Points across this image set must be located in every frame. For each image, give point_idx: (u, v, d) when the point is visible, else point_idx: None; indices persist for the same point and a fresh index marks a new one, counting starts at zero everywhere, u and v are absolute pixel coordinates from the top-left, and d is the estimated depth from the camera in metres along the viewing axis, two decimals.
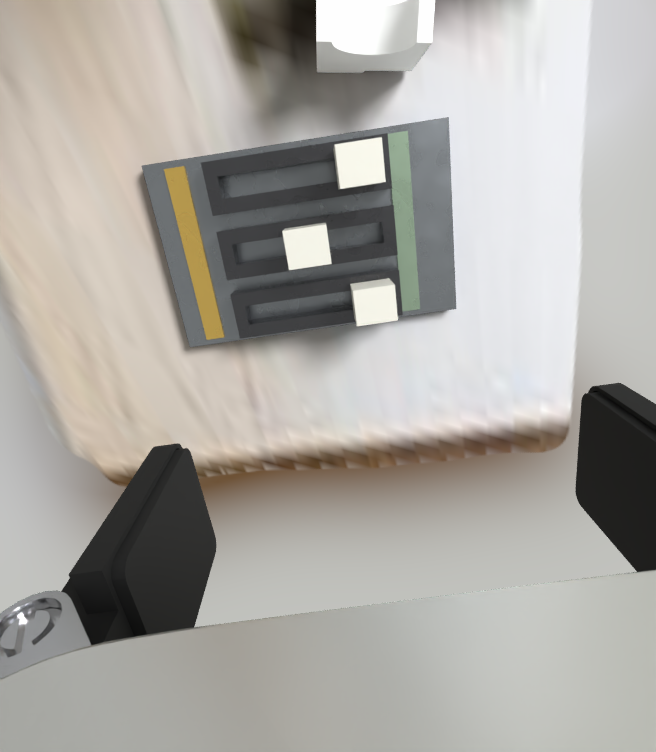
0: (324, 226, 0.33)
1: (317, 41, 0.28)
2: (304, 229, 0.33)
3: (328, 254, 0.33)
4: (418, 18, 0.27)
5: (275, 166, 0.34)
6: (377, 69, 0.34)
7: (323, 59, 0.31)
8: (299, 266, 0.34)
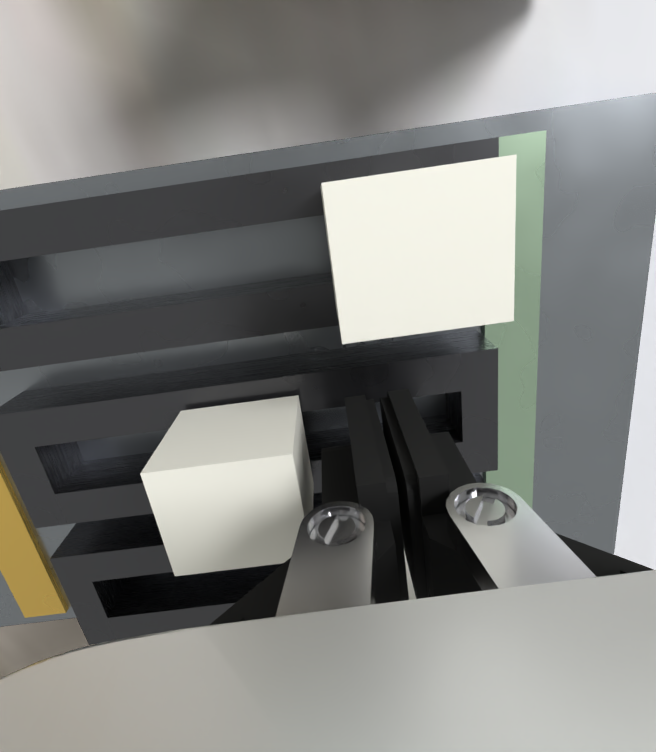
0: (286, 460, 0.09)
1: None
2: (217, 468, 0.09)
3: None
4: None
5: (138, 238, 0.11)
6: None
7: None
8: (208, 566, 0.10)
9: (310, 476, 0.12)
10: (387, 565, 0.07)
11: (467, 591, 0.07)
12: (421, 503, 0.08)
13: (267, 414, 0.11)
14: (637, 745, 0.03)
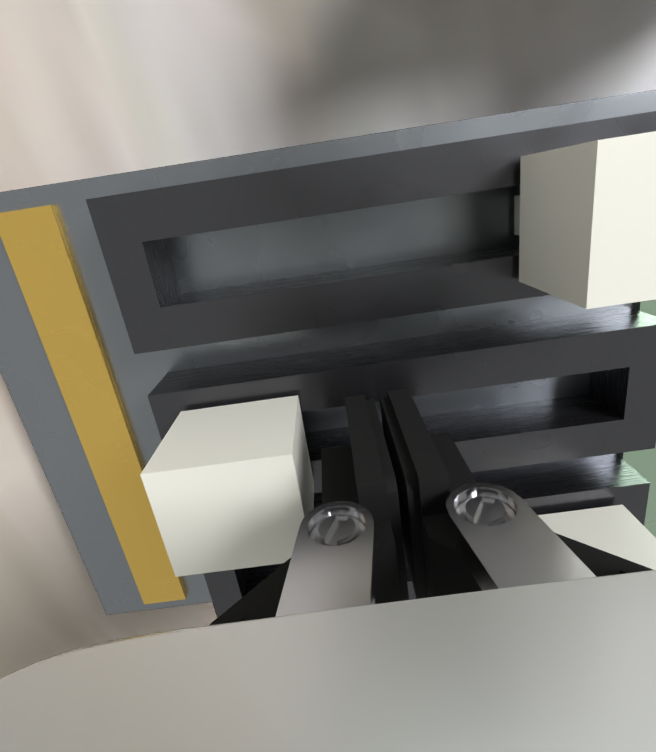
0: (285, 460, 0.09)
1: None
2: (217, 468, 0.09)
3: None
4: None
5: (326, 211, 0.11)
6: None
7: None
8: (208, 567, 0.10)
9: (310, 476, 0.12)
10: (387, 565, 0.07)
11: (467, 591, 0.07)
12: (421, 503, 0.08)
13: (267, 414, 0.11)
14: (637, 745, 0.03)
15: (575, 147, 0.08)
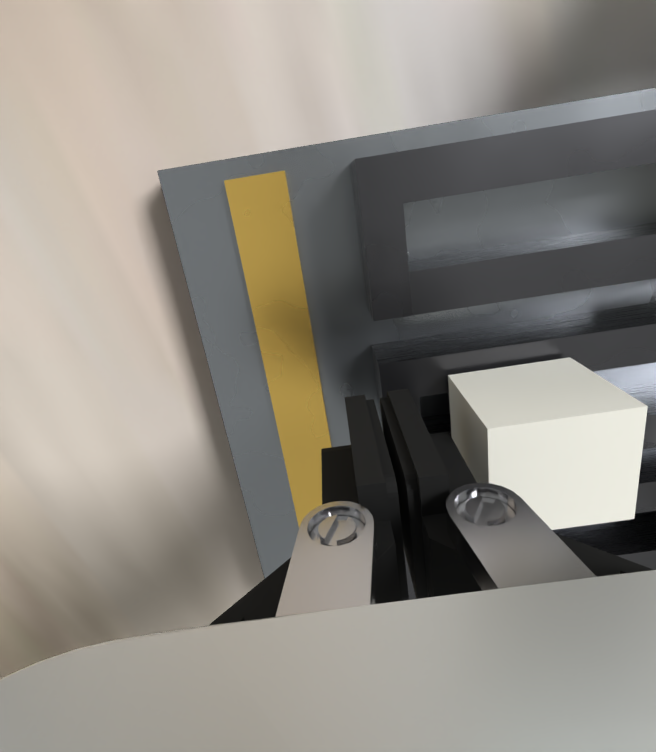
0: (640, 412, 0.09)
1: None
2: (566, 422, 0.09)
3: (630, 493, 0.10)
4: None
5: (594, 169, 0.10)
6: None
7: None
8: None
9: None
10: (387, 565, 0.07)
11: (467, 591, 0.07)
12: (421, 503, 0.08)
13: (559, 374, 0.11)
14: (637, 745, 0.03)
15: None
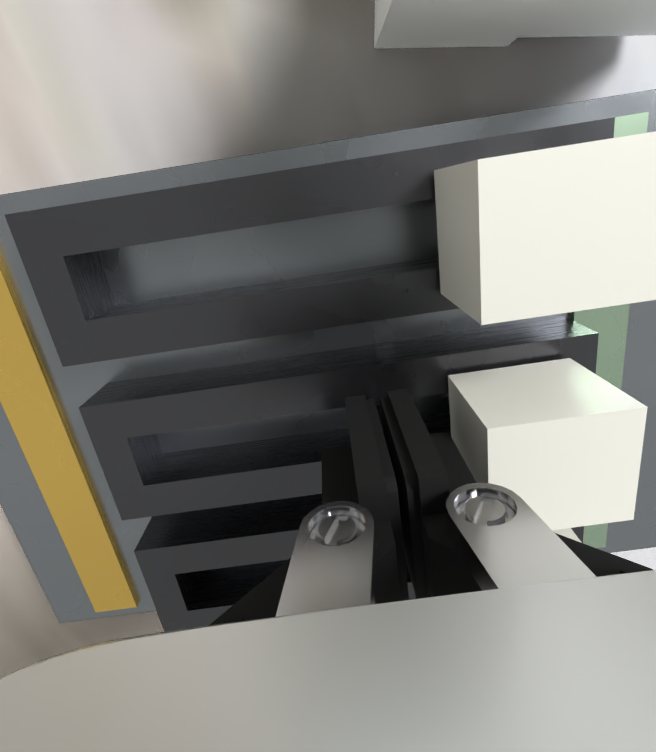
0: (639, 413, 0.09)
1: None
2: (566, 422, 0.09)
3: (630, 494, 0.10)
4: None
5: (245, 225, 0.11)
6: (562, 31, 0.11)
7: None
8: None
9: None
10: (387, 565, 0.07)
11: (467, 591, 0.07)
12: (421, 503, 0.08)
13: (559, 375, 0.11)
14: (637, 745, 0.03)
15: (465, 165, 0.08)
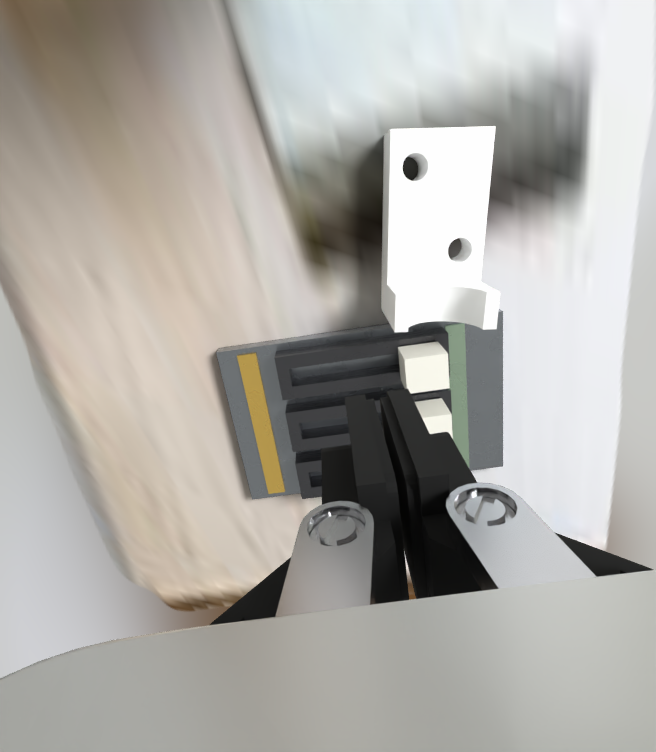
0: (449, 415, 0.35)
1: (395, 331, 0.31)
2: (430, 418, 0.35)
3: None
4: (484, 312, 0.31)
5: (343, 360, 0.37)
6: None
7: None
8: None
9: None
10: (387, 565, 0.07)
11: (467, 591, 0.07)
12: (421, 503, 0.08)
13: (435, 404, 0.37)
14: (638, 745, 0.03)
15: (402, 357, 0.34)
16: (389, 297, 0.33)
